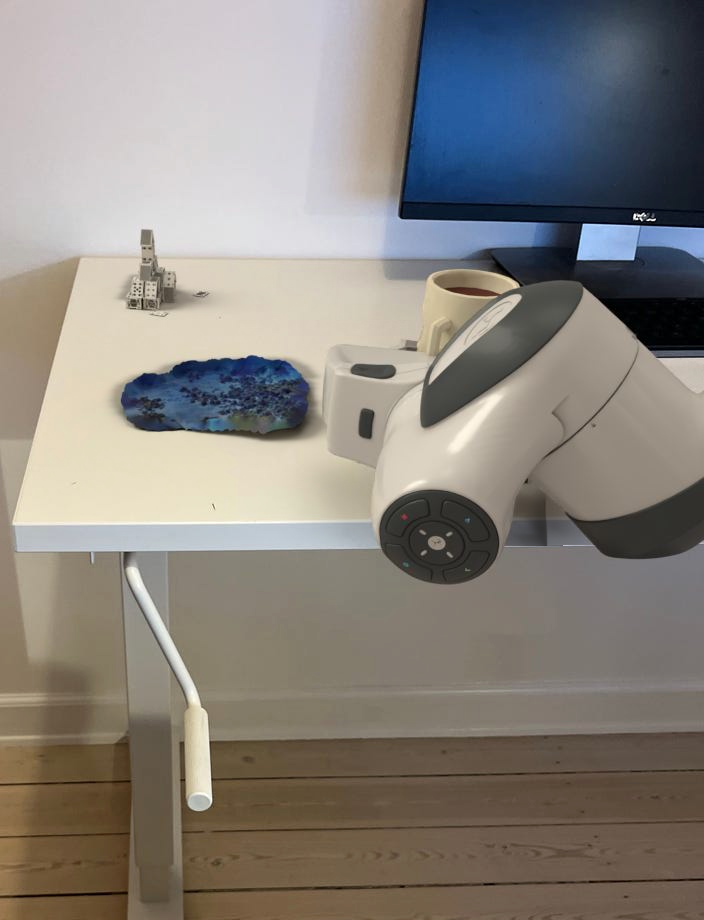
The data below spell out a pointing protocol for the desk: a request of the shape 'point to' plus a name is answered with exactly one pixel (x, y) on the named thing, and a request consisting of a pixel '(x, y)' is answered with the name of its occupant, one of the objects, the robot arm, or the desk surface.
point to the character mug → (456, 303)
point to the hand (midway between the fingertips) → (460, 354)
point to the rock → (219, 396)
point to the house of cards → (152, 280)
